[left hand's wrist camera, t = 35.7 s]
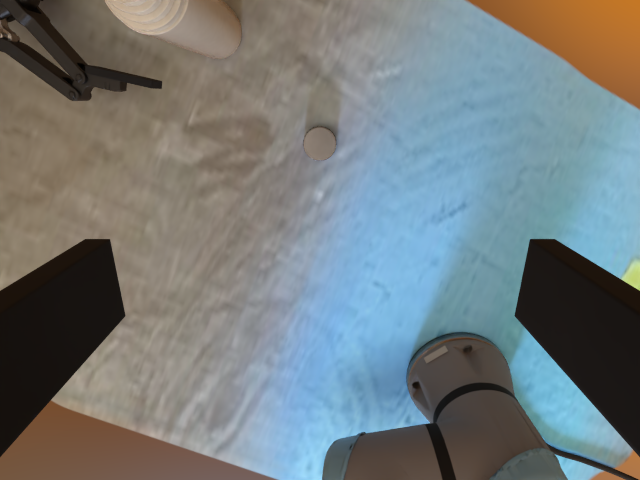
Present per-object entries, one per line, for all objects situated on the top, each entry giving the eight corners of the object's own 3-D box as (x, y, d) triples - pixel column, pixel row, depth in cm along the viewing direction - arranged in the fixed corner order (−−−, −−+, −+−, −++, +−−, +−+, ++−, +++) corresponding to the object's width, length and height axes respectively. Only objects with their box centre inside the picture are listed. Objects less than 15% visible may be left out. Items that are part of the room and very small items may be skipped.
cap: (305, 123, 47) (304, 124, 46) (337, 128, 47) (338, 128, 46) (302, 156, 49) (301, 158, 47) (333, 160, 49) (334, 162, 47)
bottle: (252, 35, 44) (177, -33, 21) (215, 70, 45) (105, 42, 22) (216, -12, 42) (91, -141, 19) (179, 26, 44) (20, -53, 20)
